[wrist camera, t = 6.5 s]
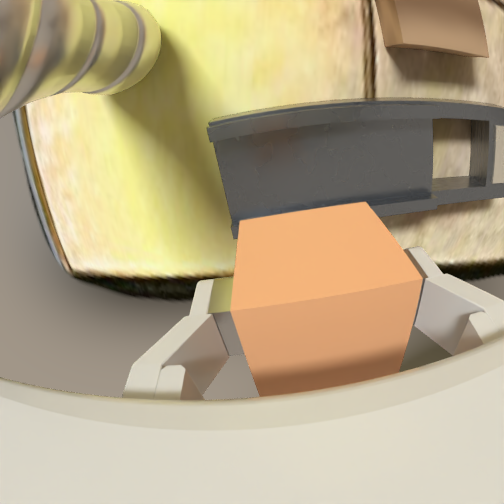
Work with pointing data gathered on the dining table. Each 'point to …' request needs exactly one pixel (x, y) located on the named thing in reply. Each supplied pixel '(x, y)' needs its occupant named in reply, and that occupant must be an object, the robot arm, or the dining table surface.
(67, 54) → the plastic bottle
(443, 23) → the brown square plate
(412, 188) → the grey slotted tray
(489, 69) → the dining table surface
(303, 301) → the peach foam cube
